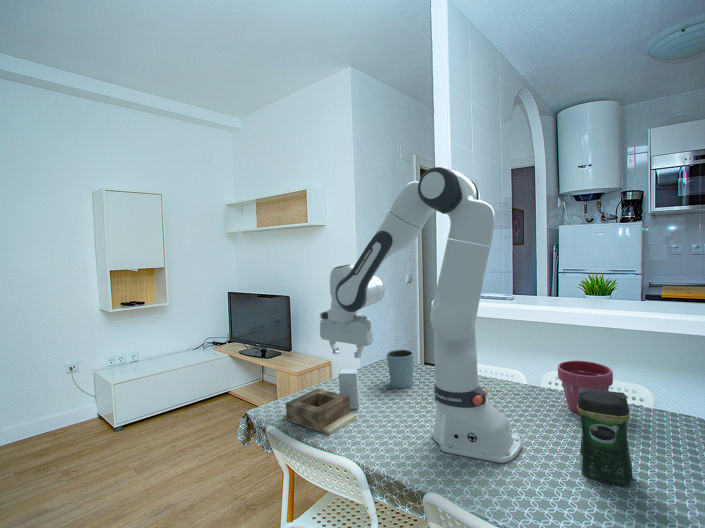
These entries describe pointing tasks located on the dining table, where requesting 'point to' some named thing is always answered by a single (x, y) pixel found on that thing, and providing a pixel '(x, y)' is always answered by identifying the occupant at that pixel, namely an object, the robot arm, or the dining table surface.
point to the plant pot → (583, 379)
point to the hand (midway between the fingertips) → (346, 355)
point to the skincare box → (350, 386)
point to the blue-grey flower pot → (400, 368)
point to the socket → (320, 411)
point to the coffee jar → (604, 436)
